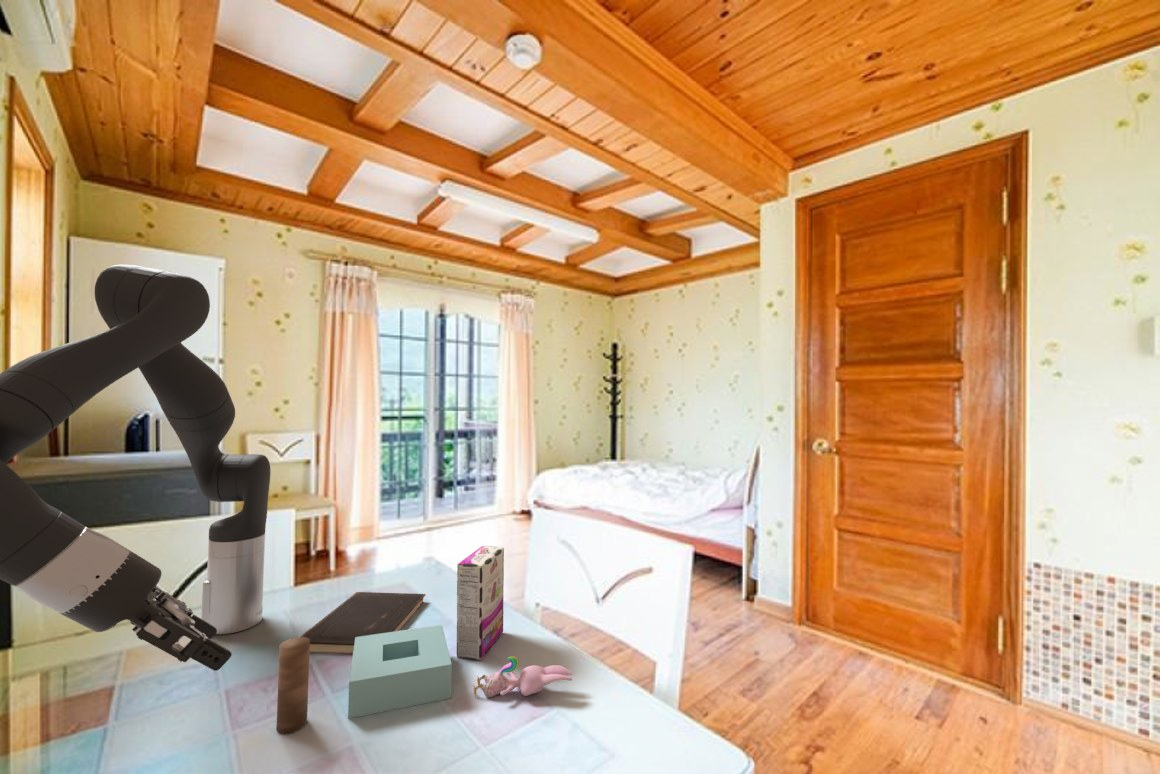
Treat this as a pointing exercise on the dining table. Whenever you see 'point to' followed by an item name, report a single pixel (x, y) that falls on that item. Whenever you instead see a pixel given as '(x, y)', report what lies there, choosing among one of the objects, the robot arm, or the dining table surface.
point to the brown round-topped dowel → (293, 685)
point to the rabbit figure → (521, 679)
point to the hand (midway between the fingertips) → (217, 648)
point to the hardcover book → (362, 620)
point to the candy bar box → (479, 601)
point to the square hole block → (399, 670)
